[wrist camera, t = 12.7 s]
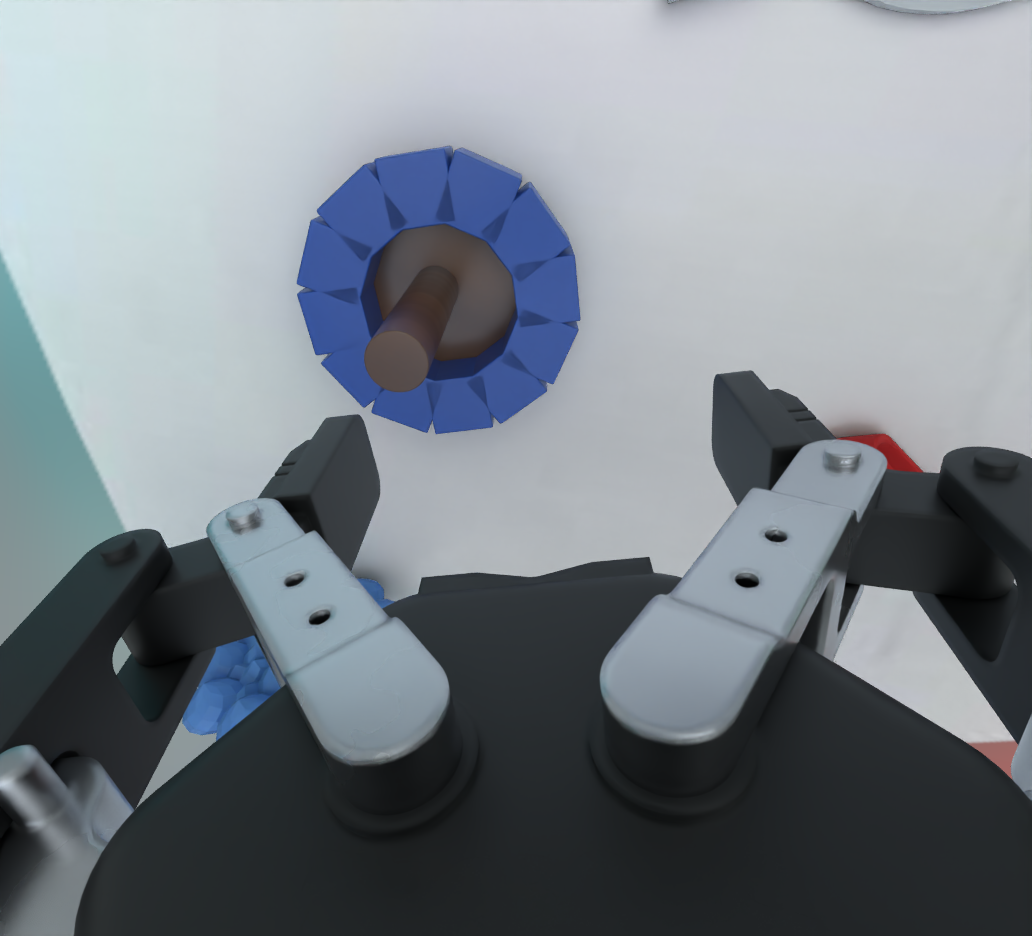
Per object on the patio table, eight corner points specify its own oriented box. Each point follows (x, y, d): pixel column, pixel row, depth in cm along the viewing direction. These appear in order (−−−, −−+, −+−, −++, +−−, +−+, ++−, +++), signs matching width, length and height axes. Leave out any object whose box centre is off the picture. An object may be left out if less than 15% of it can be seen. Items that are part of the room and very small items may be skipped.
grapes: (265, 642, 43) (182, 809, 33) (229, 566, 40) (123, 724, 29) (428, 625, 42) (396, 792, 32) (405, 546, 39) (361, 703, 28)
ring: (355, 99, 26) (337, 96, 24) (618, 217, 28) (627, 226, 26) (293, 358, 32) (274, 378, 29) (516, 441, 34) (515, 465, 32)
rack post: (384, 168, 28) (306, 194, 18) (543, 238, 30) (552, 297, 20) (340, 327, 32) (256, 420, 22) (484, 382, 33) (467, 494, 23)
